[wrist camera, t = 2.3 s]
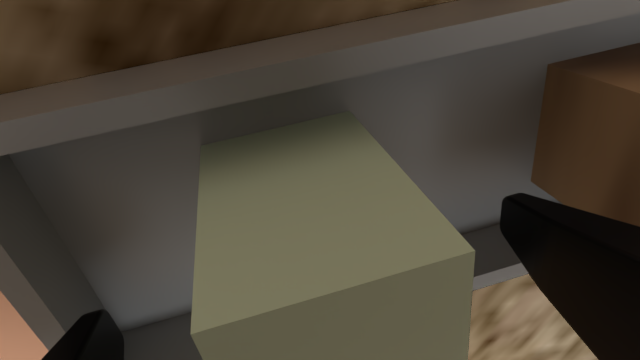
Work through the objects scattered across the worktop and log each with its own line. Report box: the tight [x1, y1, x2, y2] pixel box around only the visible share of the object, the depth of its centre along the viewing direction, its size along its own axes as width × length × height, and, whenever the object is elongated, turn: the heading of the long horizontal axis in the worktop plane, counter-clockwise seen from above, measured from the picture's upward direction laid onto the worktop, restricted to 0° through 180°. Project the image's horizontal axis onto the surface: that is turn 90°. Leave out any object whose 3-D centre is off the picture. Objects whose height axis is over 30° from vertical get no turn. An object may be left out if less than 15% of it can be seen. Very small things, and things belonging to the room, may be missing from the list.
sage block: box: [190, 111, 475, 360], centre depth 9 cm, size 4×4×6 cm
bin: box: [0, 0, 640, 360], centre depth 11 cm, size 20×8×2 cm, turn 99°
